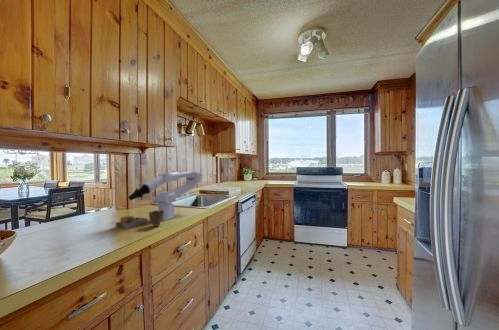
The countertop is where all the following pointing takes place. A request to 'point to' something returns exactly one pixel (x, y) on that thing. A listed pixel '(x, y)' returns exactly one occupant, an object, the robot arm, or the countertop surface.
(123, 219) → the walnut block
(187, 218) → the countertop surface
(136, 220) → the channel
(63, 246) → the countertop surface
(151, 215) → the cup
